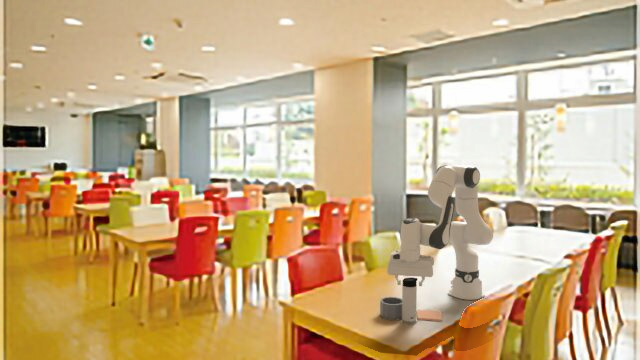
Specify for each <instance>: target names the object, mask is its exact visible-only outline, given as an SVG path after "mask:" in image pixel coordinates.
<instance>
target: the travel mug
mask: <svg viewBox="0 0 640 360" xmlns="http://www.w3.org/2000/svg"><path fill="white" fill-rule="evenodd" d="M417 281H418V277H405V278H403V279H402V285H401V286H402V294H401V295H402V296H401V299H402V319H401V322H402V323H404V324H407V325H413V324H416V323H417V296H418V295H417V290H418V289H417V287H418V286H417V284H418V283H417Z"/></svg>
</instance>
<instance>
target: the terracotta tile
mask: <svg viewBox="0 0 640 360" xmlns="http://www.w3.org/2000/svg"><path fill="white" fill-rule="evenodd" d="M418 320H420V321H431V322H432V321H435V322H443V316H442V311H441V310H431V309H416V321H418Z"/></svg>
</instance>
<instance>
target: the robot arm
mask: <svg viewBox="0 0 640 360" xmlns="http://www.w3.org/2000/svg"><path fill="white" fill-rule="evenodd" d="M480 179H481V173H480V171H479V169H478V168H477V167H476V166H473V165H466V164H465V165H464V164H451V165H449V164H448V165H447V164H444V165H440V166H439V167H438V168H437V169H436V171H435V174H434V176H433V178H432V180H431V182H430V184H429V186H428V190H427V196H428V198H429V200H430V202H432V204H434V205H435V206H438V208H441V212H440V213H441V214H440V217H439V223H438V224H437V225H432V224H426V223H423V222H421V221H420V219H418V218H416V217H408V218H404V219H403V220H402V222H401V226H400V235H399V236H400V238H399V239H400V249H398V250H394V251H391V253H389V254H390V255H389V257H390V258H389V260H388V263H387V269H386V270H387V271H386V273H387V274H388V276H389V275H390V276H394V278H395V280H396V281H397V285H398V286H402V285H401V284H402V283H401V282H402V281H401V280H400V279H399V276H403V277H405V276H406V277H421V280H419V281H418V286H419V287H423V282H425V279H426V278H432V277H433V276H434V267H433V266H434V264H435V259H434V257H433V256H431V255H421V246H424V247H430V248H433V249H436V250H442V249H444V248H446V247H447V246H448V244H449V243H450V244H451V245H452V248H453V250H454V253H455V268H454V275H455V276H454V277H453V278H452V279H450V288H449V289H448V293H447V295H449V296H452V297H455V298H457V299H461V300H466V301H467V300H470V301H471V300H472V301H473V300H479V299H481V298H486V294H485V293H484V292H483V284H482V283H483V282H482V280H481V279H480V278H479V277H480V270H479V255H478V253H477V252H476V251H475V250H473V249H472V248H471V247H470V245H476V246H485V245H489V244H491V242H492V241H493V238H494V231H493V228H492V227H491V226H490V225H488V224H487V223H486V222H485V221H484V219H483V217H482V216H481V214H480V209H479V198H478V197H479V195H478V187H477V185H479V182H480ZM454 191H455V192H454ZM453 192H454V195H455V196H454V197H453ZM454 198H455V199H454ZM455 211H456V213H457V215H459V216H460V217H462V218H463V219H464V221H457V220H454V221H453V217H454V213H455ZM469 244H470V245H469Z"/></svg>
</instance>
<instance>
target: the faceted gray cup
mask: <svg viewBox="0 0 640 360" xmlns="http://www.w3.org/2000/svg"><path fill="white" fill-rule="evenodd" d="M379 302H380V303H379V307H380V308H379V309H380V311H379V313H380V314H379V315H380V317H381V318H382V319H386V320H390V321H399V320H402V297H401V298H400V297H398V296H385V297H382V298H380V301H379Z"/></svg>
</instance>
